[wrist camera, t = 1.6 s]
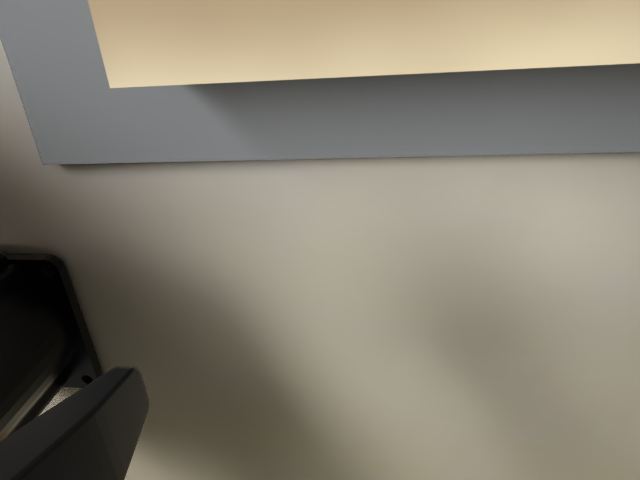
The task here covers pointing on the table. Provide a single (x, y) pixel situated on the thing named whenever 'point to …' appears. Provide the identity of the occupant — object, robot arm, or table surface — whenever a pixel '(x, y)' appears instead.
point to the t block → (354, 37)
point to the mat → (302, 106)
